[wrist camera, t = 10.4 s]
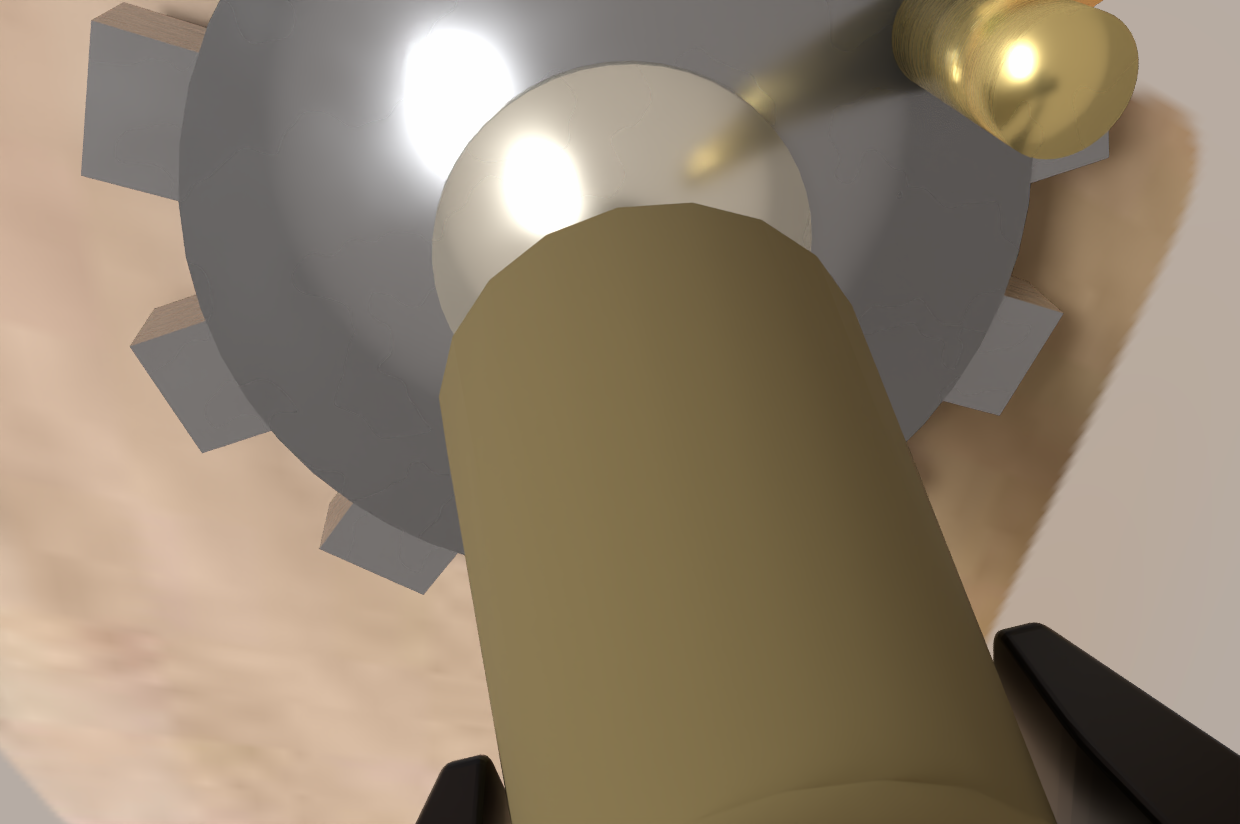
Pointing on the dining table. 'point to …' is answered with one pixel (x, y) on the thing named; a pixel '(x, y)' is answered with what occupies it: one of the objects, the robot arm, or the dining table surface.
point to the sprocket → (570, 192)
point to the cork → (710, 545)
